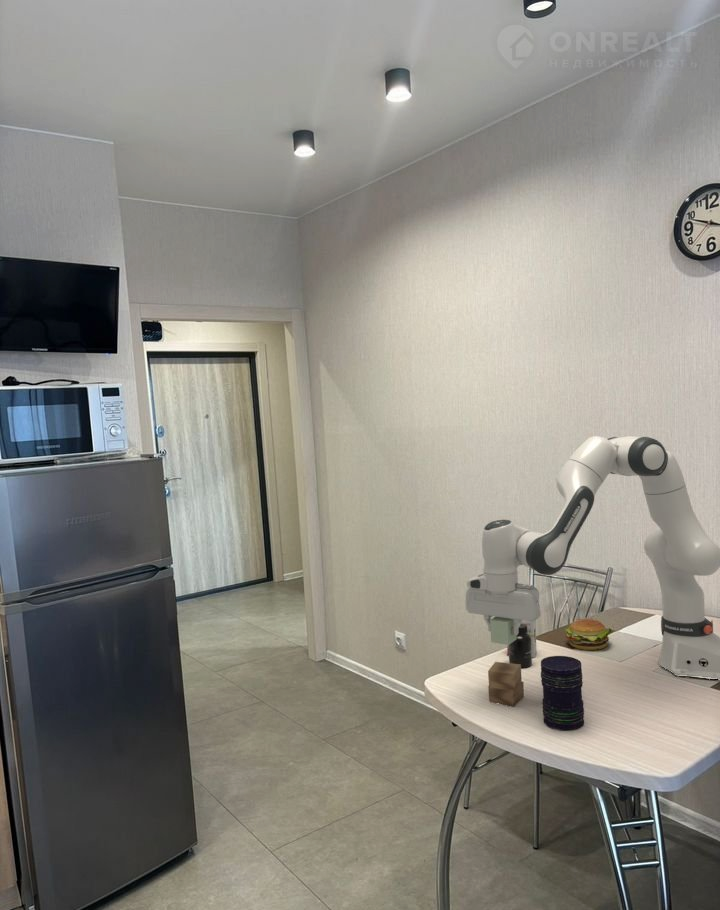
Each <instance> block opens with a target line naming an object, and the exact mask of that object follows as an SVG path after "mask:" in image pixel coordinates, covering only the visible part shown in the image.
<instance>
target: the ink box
mask: <svg viewBox="0 0 720 910" xmlns="http://www.w3.org/2000/svg"><path fill="white" fill-rule="evenodd" d="M536 622H537V620H536V621H534V622H532V621H524V620H522V623H521V624H525V625H527V630H528V632H527V633H528V634H529V635H530V637H531V649H532V658H535V657H536V655H537V654H538V653H537V623H536ZM506 647H507V649H506V652H507V656H508V657H509V648H508V645H506Z"/></svg>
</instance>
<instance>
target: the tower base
mask: <svg viewBox="0 0 720 910" xmlns="http://www.w3.org/2000/svg"><path fill="white" fill-rule="evenodd" d="M524 682H525V681H521V682H520V684H519V686H518V687H517V689H516V690H515V691H513V690H505V689H497V688H489V685H488V686H487V687H488V688H487V689H488V702H489V701H490V702H489V703H492V702H493V704H496V703H499V704H498V705H501V704H502V706H506V705H507V707H510V706H511V708H514V707H515V706H517V705H518V704H519V703H520V702H521V701H522V700H523V699H524V698H525V684H524Z"/></svg>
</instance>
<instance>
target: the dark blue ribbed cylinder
mask: <svg viewBox="0 0 720 910" xmlns="http://www.w3.org/2000/svg"><path fill="white" fill-rule="evenodd" d="M540 678H541V680H540V683H541V686H542V695H543V697H542V699H541V701H542V703H541V704H542V707H541V708H542V714H543V724H544V725H545V726H546V727H548V728H550V729H552V730H556V731H560V732H561V731H562V732H572V731H577V730H580V729H581V728H583V727H584V726H585V720H584V717H585V708H584V705H585V704H584V699H583V695H582V694H583V693H582V692H583V691H582V688H583V683H584V681H583V669H582V661H581V660H579V659H577V658H575V657H572V656H566V655H551V656H548V657H544V658H542V659H541V660H540Z"/></svg>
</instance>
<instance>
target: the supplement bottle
mask: <svg viewBox="0 0 720 910" xmlns="http://www.w3.org/2000/svg"><path fill="white" fill-rule="evenodd" d="M518 630H519V633H518V635H516V638H517V639H516V640H515V641H513V642H512V643H511V644H509V645H508V648H509V656H508V663H512V664H521V669H525V668H529V667H531V666H532V664H533V657H532V649H531V637H530V635H529V634H528V633H527V632H528V630H527V625H525V624H520V626H519V628H518Z"/></svg>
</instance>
